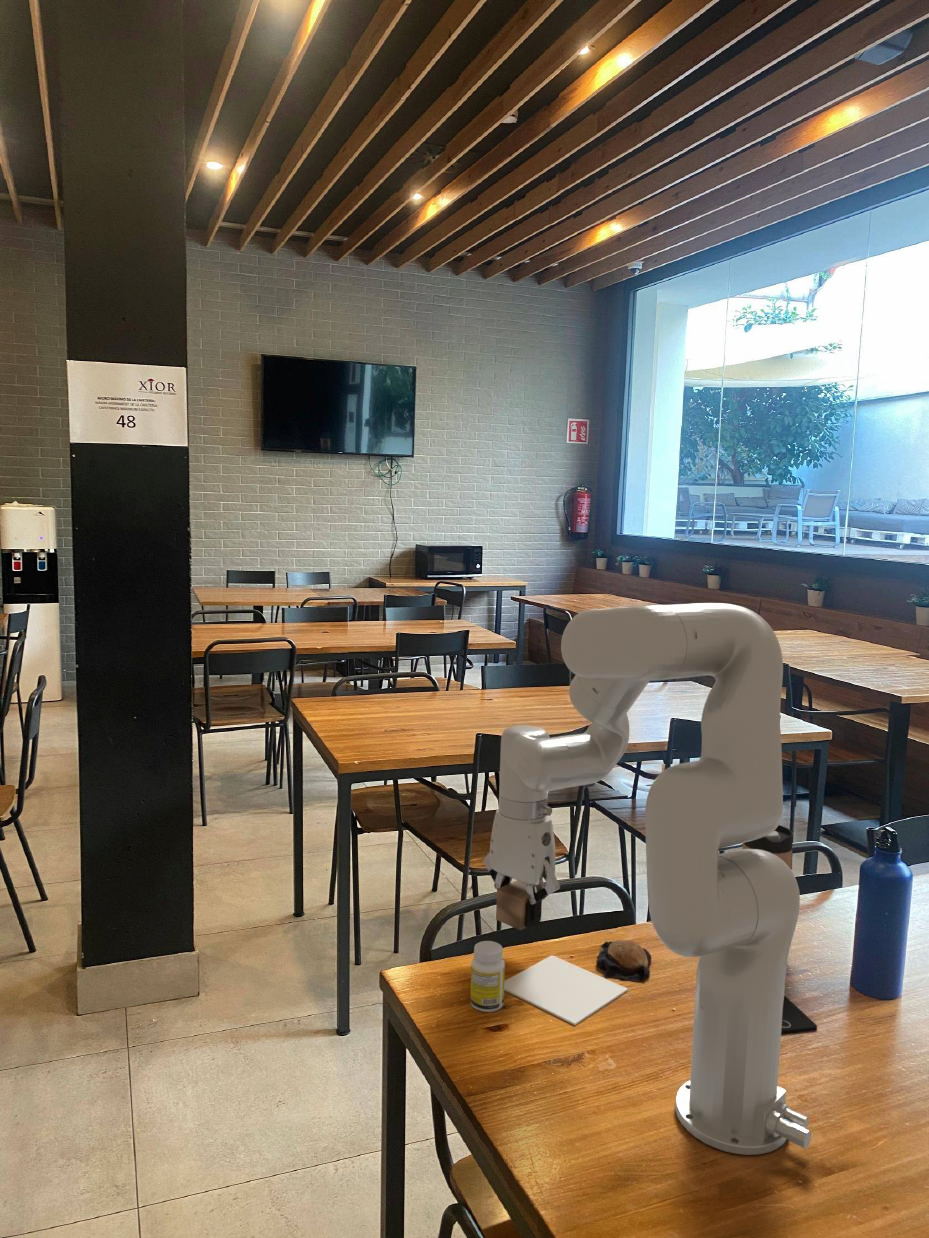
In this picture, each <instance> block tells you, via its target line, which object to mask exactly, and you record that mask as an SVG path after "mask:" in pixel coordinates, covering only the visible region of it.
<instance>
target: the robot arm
mask: <svg viewBox="0 0 929 1238" xmlns="http://www.w3.org/2000/svg"><path fill="white" fill-rule="evenodd" d="M560 650H561V651H560V652H561V657H562V660H563V662H564V664H565V666H566V667H567V669H568V670H569V671H570V672H571V673H572V674H574V677H573V678H572V680H571V682H570V684H569V687H568V688H569V689H568V697H569V700H570V702H571V705H572V706H573V708H574V709H575V710H576V711H577V713H579V715H581V717H583V718H584V719H585V720H587V721H589V722H591V724H590V725H589V726H588V728H587V729H586V730H585V731H584V732H583V733H578V734H577V733H575V734H568V735H559V736H553V737H550V733H549V732H548V731H547V730H546V729H545V728H542V727H540V726H535V725H529V724H518V725H517V724H516V725H512V726H509V727H507V728H505V729H504V730H503V731H502V733H501V738H500V756H499V757H500V760H499V761H500V764H499V787H498V788H499V790H498V792H499V793H498V809H496V811H495V815H494V817H493V818H494V819H493V821H492V822H493V824H492V827H491V834H490V842H489V844H490V845H489V852H488V853H487V854H486V856H484V857H483V859H482V863H483V865H484V866H485V868H486V869H487V871H488V872H489V875H490V877H491V878H492V881H493V887H494V889H495V890H496V891H497V889H498V888H500V887H503V886H505V885H507V884H510V883H512V882H513V881H512V880H515V881H517V880H518V881H521V882H523V883H526V888H527V894H528V899H529V902H527V903H526V909H525V927H526V928H528V929H530V928H533V927H534V926H535V925H538V924H539V923H541V921H542V906H543V905H542V904H543V900H545V899H546V898H548V896H549V895H550V894H552V893H554V892H556V891H558V890H560V889H561V885H560V882H559V880H558V878H557V877H556V843H555V842H556V841H555V832H554V827H553V825H554V824H553V821H552V818H551V817H550V816H551V815H552V813H553V808H552V807H550V806H549V805H548V801H549V800H548V799H549V792H551V791H552V792H553V791H557V790H564V789H567V788H573V787H580V786H588V785H591V784H595V783H598V782H600V781H602V779H604V778H605V777H607V776H608V775H609V774H610V772H612V770H613V769H614V768H615V766H616V765H617V764H618V762H620V760H621V758H622V757H623V756H624V754H625V752H626V751H627V748H628V745H629V741H630V740H629V739H630V720H629V717H628V712H629V710H631V708H632V706H633V705H634V703H636V701H637V699H639V696H640V695H641V694H642V692H643V691H644V690H645V688H646V687H647V686H648V684H649V683H650V681H651V682H653V681H665V680H674V679H675V680H676V679H686V678H695V677H706V676H711V677H713V678H714V679H715V682H714V684H713V686H712V687H711V689H710V691H709V693H708V695H707V698H706V699H705V703H704V706H703V709H702V714H701V720H700V726H701V727H700V728H701V729H700V730H701V753H700V754H701V755H700V757H699V759H698V760H694V761H687V762H682V763H677V764H674V765H672V766H669V767H668V768H666V769H664V770H663V771H661V772H660V773H659V775H657V776H656V777H655V779H654V780H653V782H652V784H651V786H650V788H649V791H648V794H647V796H646V800H645V801H646V802H645V811H644V812H645V813H644V815H645V817H644V818H645V819H644V820H645V821H644V825H645V827H644V828H645V829H644V830H645V832H644V833H645V857H646V858H645V860H646V884H647V885H646V887H647V888H646V889H647V903H648V910H649V915H650V919H651V923H652V926H653V928H654V931H655V933H656V935H657V936H658V938H659V940H660V941H661V942H662V944H663V945H664V946H665V948H667V949H668V951H671V952H673V954H675V955H678V956H681V957H685V958H697V957H698V963H697V967H696V981H695V991H694V993H695V994H694V1008H693V1009H694V1011H693V1013H694V1014H693V1028H692V1046H691V1063H690V1078H689V1079H690V1080H688V1081H686V1082H685V1083H683V1084H682V1085H681V1086H680V1087H679V1088H678V1090H677V1092H676V1095H675V1102H674V1104H675V1105H674V1107H675V1108H674V1109H675V1113H676V1117H677V1118H678V1120H679V1121H680V1124H681V1125H682V1126H683V1128H685V1129H686V1131H687V1132H689V1133H690V1134H691V1135H692V1136H694V1138H696V1139H698V1140H699V1141H700V1142H702V1143H704V1144H706V1145H708V1146H710V1147H712V1148H714V1149H717V1150H720V1151H723V1152H726V1153H731V1154H736V1155H745V1156H746V1155H747V1156H751V1155H752V1156H753V1155H755V1156H756V1155H764V1154H768V1153H771V1152H773V1151H775V1150H778V1149H779V1148H781V1146H783V1145H784V1144H785V1142H787V1140H788V1142H791V1143H792V1144H795V1145H797V1146H798V1147H800V1148H802V1149H805V1150H806V1149H807V1148H808V1147H809V1145H810V1143H811V1139H812V1131H811V1130H810V1129H808V1125H809V1121H810V1120H809V1119H810V1118H809V1117H808V1116H806V1115H805V1114H802V1113H801V1112H799V1111H795V1110H793V1109H791V1108H789V1105H788V1104H786V1097H787V1096H786V1095H787V1090H786V1089H784V1088H782V1087H780V1086H779V1085H778V1083H779V1068H780V1054H781V1042H782V1041H781V1038H782V1034H781V1028H782V1013H783V1001H784V995H785V988H786V973H787V967H788V966H787V965H788V959H789V954H790V949H791V946H792V941H793V938H794V934H795V931H796V927H797V923H798V919H799V914H800V904H801V903H800V902H801V897H800V894H801V893H800V887H799V885H798V881H797V879H796V876H795V875H794V872H793V870H792V868H791V869H790V868H789V867H788V865H787V864H786V863H785V862H784V861H783V860H782V859H780V858H779V857H778V856H776V855H774V854H772V853H770V852H767V851H764V850H759V849H737V850H733V851H732V850H731V851H727V852H723V853H719V849H722V848H728V847H731V846H737V845H739V844H743V843H745V842H749V841H753V840H756V839H759V838H762V837H764V836H767V835H769V834H770V833H772V832H773V831H774V830H775V829H776V828H777V827H778V825H780V823H781V821H782V817H783V810H784V809H783V807H784V796H783V794H784V793H783V792H784V791H783V788H784V787H783V786H784V785H783V761H782V760H783V758H782V756H783V753H782V752H783V751H782V750H783V749H782V734H781V731H782V730H781V704H782V703H781V702H782V701H781V700H782V689H783V678H784V677H783V676H784V662H783V661H784V659H783V653H782V648H781V645H780V642H779V639H778V637H777V636H776V633H775V631H774V630H773V628H772V627H771V626H770V624H769V623H768V622H767V621H766V620H765V619H764V618H763V617H762V616H760V614H758V613H756V612H755V611H753V610H752V609H749V608H747V607H744V606H741V605H738V604H737V605H736V604H732V603H723V602H696V603H695V602H693V603H678V604H676V603H675V604H656V605H655V604H654V605H653V604H650V605H637V606H631V607H630V606H628V607H616V608H615V607H614V608H610V607H609V608H591V609H589V608H588V609H585V610H583V611H580V612H578V613H577V614H576V615H574V616H573V617H572V618H571V619H570V620H569V622H568V623H567V625H566V626H565V628H564V630H563V633H562V636H561V642H560ZM544 881H545V883H546V884H545V885H544ZM535 887H536V889H537V892H536V893H535Z"/></svg>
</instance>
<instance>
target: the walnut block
mask: <svg viewBox="0 0 929 1238" xmlns="http://www.w3.org/2000/svg"><path fill="white" fill-rule="evenodd" d="M534 887H535V893H536V892H537V889H536V886H534ZM527 902H529V899H528V894H527V888H526V883H523V882H521V881H518V880H515V881H511V883H510V884H507V885H505V886H503V887H500V888H498V889H497V890H496V906H495V907H496V910H495V920H496V921H497V922H501V923H503V924H505V925H506V926H507V925H508V926H510V927H512V928H515V929H516V930H519V931H522V930H525V929H526V928H527V927H525V909H526V903H527Z"/></svg>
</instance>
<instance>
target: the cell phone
mask: <svg viewBox="0 0 929 1238" xmlns="http://www.w3.org/2000/svg"><path fill="white" fill-rule="evenodd" d="M817 1030H818V1025H817V1024H816V1023H815V1022H814V1021H813V1020H812V1019H811V1018H810V1017H808V1016H807V1015H806V1014H805V1013H804V1012H803V1011H802V1010H801V1009H800V1008H799V1007H798V1006H797V1005H795V1004H794V1003H793V1001H791V1000H790V999H789V998H788V997H787V996H786V995H785V994H784V1001H783V1013H782V1028H781V1035H787V1034H789V1035H790V1034H798V1033H807V1032H815V1031H817Z"/></svg>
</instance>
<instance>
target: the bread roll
mask: <svg viewBox="0 0 929 1238" xmlns="http://www.w3.org/2000/svg"><path fill="white" fill-rule="evenodd" d="M651 965H652V955H651V952H650V951H648V950H647V948H643V947H642V946H641V945H640V944H638V943H637V942H635V941H632V940H626V939H617V940H613V941H605V942H604V943H603V944H601V945H600V946H599V952H598V955H597V956H596V966H597V967H598V970H599V972H600V974H601V975H604V978H605V979H609V980H610V979H611V980H619V981H626V982H630V983H631V982H633V983H643V982H644V983H648V982H649V981H650V978H651Z"/></svg>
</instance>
